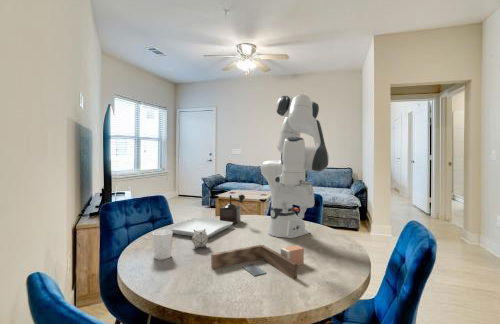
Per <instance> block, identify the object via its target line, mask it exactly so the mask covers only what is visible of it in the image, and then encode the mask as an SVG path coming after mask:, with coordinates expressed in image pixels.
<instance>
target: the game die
mask: <svg viewBox="0 0 500 324" xmlns="http://www.w3.org/2000/svg"><path fill="white" fill-rule="evenodd" d="M205 230H206V229H204V230H201V231H195V230H194V231H195V232H194V234H193V236H191V238H190V239H189V240H190V241H191V242H192V243H193V245H194V248H193V249H194V250H195V249H197V248H205V249H207V243H208V241H209V239H210V238H211V237H212V236H210V237H208V235H207V234H206V232H205Z"/></svg>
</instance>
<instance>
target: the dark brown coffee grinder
mask: <svg viewBox="0 0 500 324" xmlns="http://www.w3.org/2000/svg"><path fill="white" fill-rule="evenodd" d="M245 198H246V196H245V194H239V195H238V199H236V198H232V194H230V195H229V203H228V204H225V205H223V206H221V207H219V220H220V221H227V222H233V223H232V225H237V224H239V223H240V222H241V205H236V204H233V203H232V201H234V202H239V203H240V204H241V203H244V200H245Z"/></svg>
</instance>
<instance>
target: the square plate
mask: <svg viewBox="0 0 500 324" xmlns="http://www.w3.org/2000/svg"><path fill="white" fill-rule="evenodd" d="M232 223H233V222H227V221H220V219H214V218H213V219H212V218H200V217H192V218H190V219H186V220H183V221H180V222H179V221H178V222H177V223H175V224H171V225H168V226H167V227H165V228H164V229H163V230H171V231H173V234H174V235H175V234H176V235H181V236H186V237H193V234H194V232H195V231H201V230H204V229H206V230H205V232H206V234H207V235H208V237H212V236H214V235H216V234H218V233H220V232H222V231H224V230H226V229H227V228H228V229H229V227H231V226H232V225H233V224H232ZM194 230H195V231H194Z"/></svg>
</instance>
